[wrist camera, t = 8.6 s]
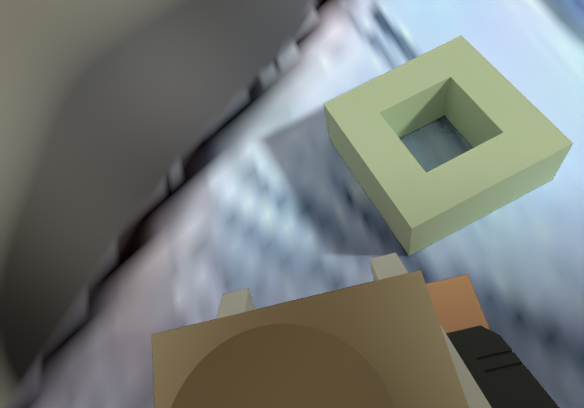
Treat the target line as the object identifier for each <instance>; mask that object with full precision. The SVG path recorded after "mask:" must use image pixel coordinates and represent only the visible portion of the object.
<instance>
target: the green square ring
mask: <svg viewBox="0 0 584 408" xmlns="http://www.w3.org/2000/svg"><path fill="white" fill-rule="evenodd" d="M324 110H325V116H326V122H327V127H328V133H329V139H330V141H331V142H332V144H333V145H334V147H335V148H336V150H337V151H338V152H339V154H340V155H341V157H342V158H343V160H344V161H345V163H346V164H347V166H348V167H349V169H350V170H351V172H352V173H353V174H354V176H355V177H356V179H357V180H358V182H359V183H360V185H361V186H362V188H363V189H364V191H365V192H366V194H367V195H368V197H369V198H370V199H371V201H372V202H373V204H374V205H375V207H376V208H377V210H378V211H379V213H380V214H381V216H382V217H383V219H384V220H385V221H386V223H387V224H388V226H389V227H390V229H391V230H392V232H393V233H394V235H395V236H396V238H397V239H398V241H399V242H400V243H401V245H402V246H403V248H404V249H405V251H406V252H407V254H408V255H409V256H410V255H412V254H414V253H416V252H418V251H420V250H422V249H423V248H425V247H427V246H429V245H431V244H433V243H435V242H436V241H438V240H440V239H442V238H444V237H446V236H448V235H450V234H451V233H453V232H455V231H457V230H459V229H461V228H463V227H465V226H466V225H468V224H470V223H472V222H474V221H476V220H478V219H480V218H481V217H483V216H485V215H487V214H489V213H491V212H493V211H495V210H496V209H498V208H500V207H502V206H504V205H506V204H508V203H510V202H511V201H513V200H515V199H517V198H519V197H521V196H523V195H525V194H526V193H528V192H530V191H532V190H534V189H536V188H538V187H540V186H541V185H543V184H545V183H547V182H549V181H551V180H553V178H554V176H555V175H556V173H557V171H558V169H559V167H560V166H561V164H562V162H563V160H564V159H565V157H566V155H567V153H568V152H569V150H570V148H571V146H572V144H573V143H572V142H571V141H570V140H569V139H568V138H567V137H566V136H565V135H564V134H563V133H562V132H561V131H560V130H559V129H558V128H557V127H556V126H555V125H554V124H553V123H552V122H550V121H549V120H548V119H547V118H546V117H545V116H544V115H543V114H542V113H541V112H540V111H539V110H538V109H537V108H536V107H535V106H534V105H533V104H532V103H531V102H530V101H529V100H528V99H527V98H526V97H525V96H524V95H523V94H521V93H520V92H519V91H518V90H517V89H516V88H515V87H514V86H513V85H512V84H511V83H510V82H509V81H508V80H507V79H506V78H505V77H504V76H503V75H502V74H501V73H500V72H499V71H498V70H497V69H496V68H495V67H493V66H492V65H491V64H490V63H489V62H488V61H487V60H486V59H485V58H484V57H483V56H482V55H481V54H480V53H479V52H478V51H477V50H476V49H475V48H474V47H473V46H472V45H471V44H470V43H469V42H468V41H467V40H466V39H464V38H463V37H462V36H459V37H457V38H455V39H453V40H451V41H449V42H447V43H445V44H443V45H441V46H439V47H437V48H435V49H433V50H431V51H429V52H427V53H425V54H423V55H421V56H419V57H417V58H415V59H413V60H411V61H409V62H407V63H405V64H403V65H401V66H399V67H397V68H395V69H393V70H391V71H389V72H387V73H385V74H383V75H381V76H379V77H377V78H375V79H373V80H371V81H369V82H367V83H365V84H363V85H361V86H359V87H357V88H355V89H353V90H351V91H349V92H347V93H345V94H343V95H341V96H338V97H336V98H334V99H332V100H330V101H328V102H326V103H324ZM444 115H445V117H446V118H447V119H448V120H449V121H450V122H451V123H452V125H453V126H454V127H455V128H456V129H457V130H458V131H459V132H460V134H461V135H462V136H463V137H464V138H465V139H466V140H467V142H468V143H469V144H470V145H471V146H472V147H473V148H472V149H471V150H469V151H467V152H465V153H463V154H461V155H459V156H457V157H455V158H453V159H451V160H449V161H448V162H446V163H444V164H442V165H440V166H438V167H436V168H434V169H432V170H430V171H428V172H425V170H424V169H423V168H422V167H421V165H420V164H419V163H418V162H417V160H416V159H415V158H414V156H413V155H412V154H411V153H410V151H409V150H408V149H407V148H406V146H405V145H404V144H403V142H402V141H401V140H400V139H399V138H401V137H403V136H405V135H407V134H409V133H411V132H413V131H415V130H417V129H419V128H421V127H423V126H425V125H427V124H429V123H431V122H433V121H435V120H437V119H439V118H440V117H442V116H444Z"/></svg>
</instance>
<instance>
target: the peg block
mask: <svg viewBox="0 0 584 408" xmlns="http://www.w3.org/2000/svg"><path fill="white" fill-rule="evenodd" d="M152 357H153V381H154V405H155V408H469V407H468V404H467V401H466V398H465V395H464V392H463V389H462V386H461V384H460V381H459V378H458V375H457V372H456V369H455V366H454V364H453V361H452V358H451V355H450V352H449V349H448V346H447V343H446V341H445V338H444V335H443V332H442V329H441V326H440V323H439V321H438V318H437V315H436V312H435V309H434V306H433V303H432V300H431V298H430V295H429V292H428V289H427V286H426V283H425V280H424V277H423V275H422V272H421V270H418V271H414V272H410V273H406V274H401V275H397V276H393V277H389V278H385V279H381V280H376V281H372V282H368V283H364V284H360V285H356V286H351V287H347V288H343V289H339V290H335V291H331V292H326V293H322V294H318V295H314V296H310V297H306V298H301V299H297V300H293V301H289V302H285V303H281V304H276V305H272V306H268V307H264V308H260V309H256V310H251V311H247V312H243V313H239V314H235V315H231V316H226V317H222V318H218V319H214V320H210V321H206V322H201V323H197V324H193V325H189V326H185V327H181V328H176V329H172V330H168V331H164V332H160V333H156V334H152Z"/></svg>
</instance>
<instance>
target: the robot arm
mask: <svg viewBox="0 0 584 408" xmlns="http://www.w3.org/2000/svg"><path fill="white" fill-rule="evenodd" d="M369 260H370V264H371V269H372V273H373V277H374V281H376V280H381V279H385V278H389V277H393V276H397V275H401V274H406V273H408V271H407V270H406V268H405V267H404V265H403V263H402V262H401V260H400V259H399V257H398V255H397V254H396V253H392V254H387V255H383V256H379V257H375V258H371V259H369ZM251 310H255V307H254V304H253V301H252V297H251V294H250V291H249V288H247V289H243V290H239V291H234V292H230V293H226V294H223V296H222V300H221V303H220V307H219V311H218V314H217V318H216V319H218V318H222V317H226V316H231V315H235V314H239V313H243V312H247V311H251ZM440 326H441V325H440ZM441 329H442V332H443V335H444V338H445V341H446V343H447V346H448V349H449V352H450V355H451V358H452V361H453V364H454V366H455V369H456V372H457V375H458V378H459V381H460V384H461V386H462V389H463V392H464V395H465V398H466V401H467V404H468V407H469V408H559V407H558V406H557V405H556V403H555V402H554V401H553V400H552V398H551V397H550V396H549V395H548V394H547V392H546V391H545V390H544V389H543V387H542V386H541V385H540V384H539V383H538V381H537V380H536V379H535V378H534V376H533V375H532V374H531V373H530V372H529V370H528V369H527V368H526V367H525V365H522V362H521V361H520V359H519V358H518V357H517V356H516V354H515V353H513V352H512V350H511V348H510V347H509V346H508V345H507V343H506V342H505V341H504V340H503V339H502V337H501V336H500V335H498V334H496V333H494V332H492V331H491V330H489V329H487V328H485V327H483V326H481V325H480V326H475V327H471V328H467V329H462V330H458V331H454V332H449V333H445V331H444V330H443V328H442V326H441Z"/></svg>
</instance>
